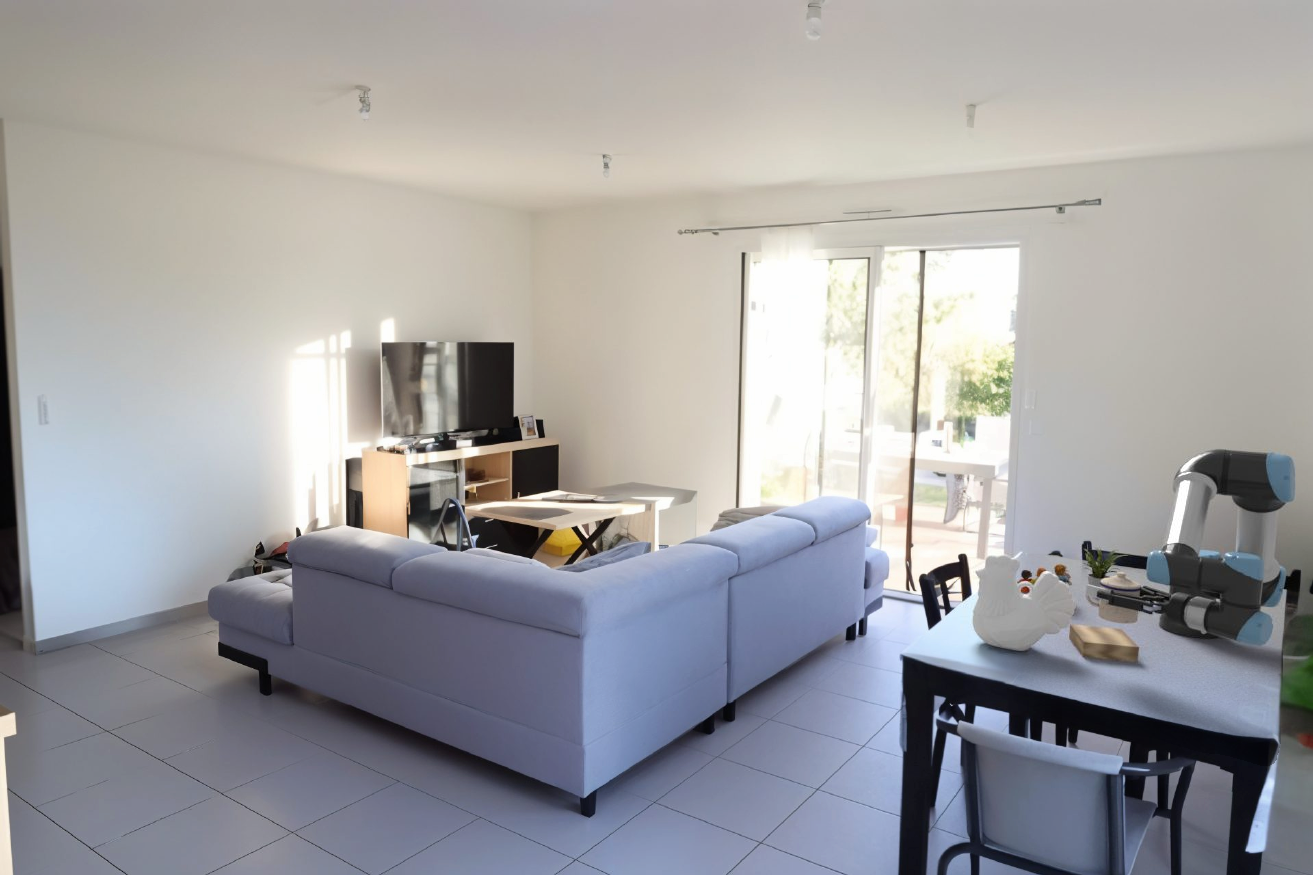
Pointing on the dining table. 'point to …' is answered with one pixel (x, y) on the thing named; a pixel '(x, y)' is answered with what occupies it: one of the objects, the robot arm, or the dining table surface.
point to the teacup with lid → (1123, 587)
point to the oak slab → (1103, 643)
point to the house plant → (1099, 567)
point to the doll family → (1026, 574)
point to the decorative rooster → (1018, 605)
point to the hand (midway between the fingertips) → (1097, 587)
